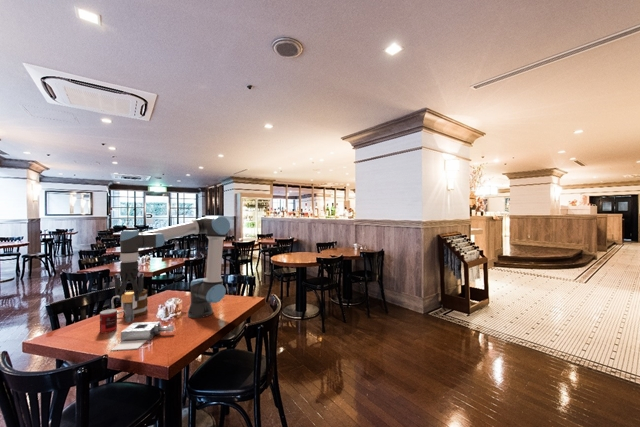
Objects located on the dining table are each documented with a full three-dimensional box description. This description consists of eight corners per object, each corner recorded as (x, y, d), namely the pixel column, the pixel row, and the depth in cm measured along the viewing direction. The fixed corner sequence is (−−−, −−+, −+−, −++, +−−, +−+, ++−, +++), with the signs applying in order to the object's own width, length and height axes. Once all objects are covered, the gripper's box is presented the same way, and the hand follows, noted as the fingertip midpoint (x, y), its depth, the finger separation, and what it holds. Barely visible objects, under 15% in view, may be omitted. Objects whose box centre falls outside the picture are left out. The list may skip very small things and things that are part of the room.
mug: (147, 309, 191) (147, 287, 191) (148, 315, 180) (148, 292, 180) (112, 315, 180) (112, 292, 180) (110, 322, 169) (110, 297, 169)
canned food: (105, 328, 160) (105, 309, 160) (120, 327, 160) (120, 308, 161) (96, 333, 152) (96, 313, 152) (111, 333, 153) (111, 313, 153)
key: (131, 322, 136) (131, 294, 136) (121, 323, 135) (122, 294, 136) (136, 319, 140) (136, 291, 140) (127, 319, 140) (127, 292, 140)
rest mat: (146, 340, 143) (146, 339, 143) (137, 349, 134) (137, 348, 134) (121, 342, 142) (121, 341, 142) (110, 350, 133) (110, 349, 133)
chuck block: (176, 329, 157) (176, 319, 157) (168, 338, 145) (168, 328, 145) (133, 331, 154) (133, 322, 154) (120, 341, 142) (120, 330, 142)
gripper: (151, 259, 143) (151, 304, 143) (114, 260, 141) (114, 306, 140) (144, 262, 136) (144, 309, 135) (105, 262, 133) (105, 311, 133)
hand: (129, 307), depth 138 cm, fingers closed on key, 4 cm apart
